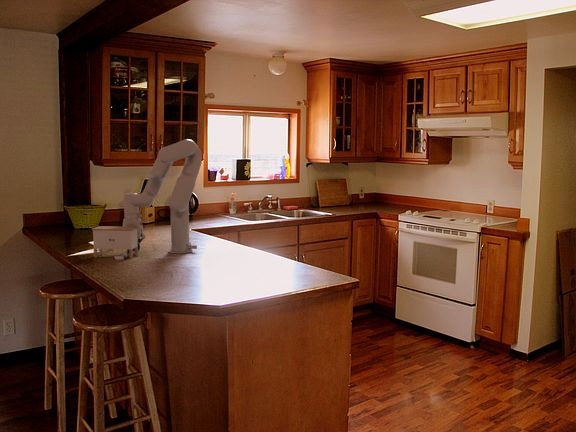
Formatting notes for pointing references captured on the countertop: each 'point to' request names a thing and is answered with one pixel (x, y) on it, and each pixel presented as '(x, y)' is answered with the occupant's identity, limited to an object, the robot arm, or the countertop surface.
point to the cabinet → (115, 239)
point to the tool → (127, 253)
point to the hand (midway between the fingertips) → (133, 250)
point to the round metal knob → (119, 257)
